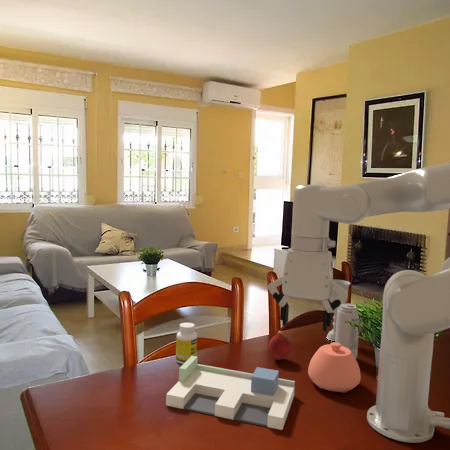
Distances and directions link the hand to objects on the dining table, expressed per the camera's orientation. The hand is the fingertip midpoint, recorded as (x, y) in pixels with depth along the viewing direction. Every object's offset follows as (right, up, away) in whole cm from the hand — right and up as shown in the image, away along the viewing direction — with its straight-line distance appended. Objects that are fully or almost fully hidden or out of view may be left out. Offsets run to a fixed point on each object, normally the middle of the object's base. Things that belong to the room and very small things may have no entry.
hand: (304, 326), depth 92 cm
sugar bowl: (+9, -17, +14) cm, 24 cm away
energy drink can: (+16, -16, +28) cm, 36 cm away
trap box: (-15, -17, +3) cm, 23 cm away
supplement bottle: (-27, -15, +23) cm, 39 cm away
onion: (-2, -15, +26) cm, 30 cm away
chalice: (+17, -14, +43) cm, 48 cm away
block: (-8, -15, +4) cm, 17 cm away
